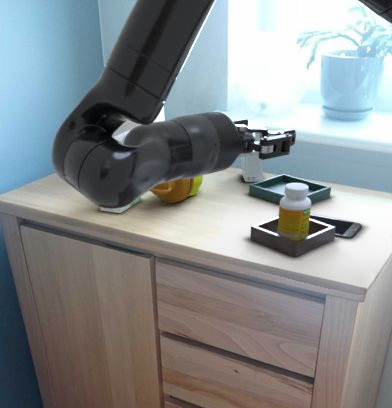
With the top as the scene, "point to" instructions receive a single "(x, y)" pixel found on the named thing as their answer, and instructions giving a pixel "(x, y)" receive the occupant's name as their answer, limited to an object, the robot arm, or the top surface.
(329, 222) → the smartphone
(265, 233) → the frame
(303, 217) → the supplement bottle
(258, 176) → the cosmetic box
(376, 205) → the top surface
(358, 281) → the top surface
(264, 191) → the tray
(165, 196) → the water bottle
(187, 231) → the top surface
